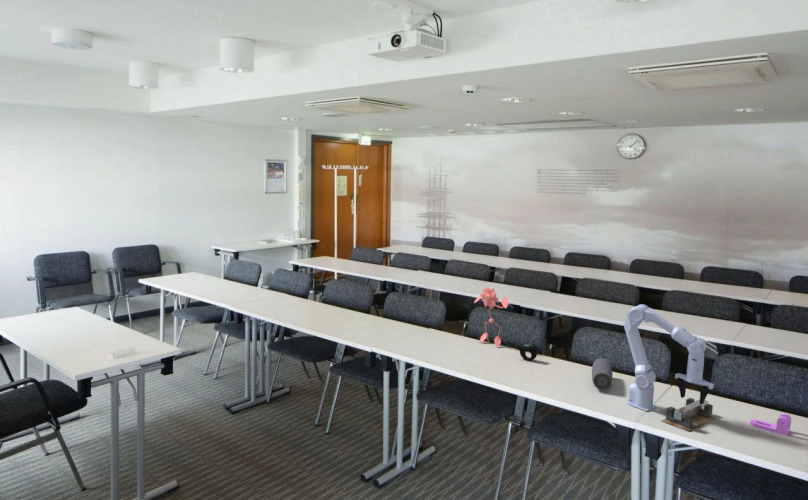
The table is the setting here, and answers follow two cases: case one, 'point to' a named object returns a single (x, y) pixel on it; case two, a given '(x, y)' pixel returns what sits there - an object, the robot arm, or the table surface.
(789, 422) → the bracket
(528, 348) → the controller
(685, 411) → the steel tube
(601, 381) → the bluetooth speaker
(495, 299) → the figurine
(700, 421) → the board
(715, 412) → the table surface
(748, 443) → the table surface
